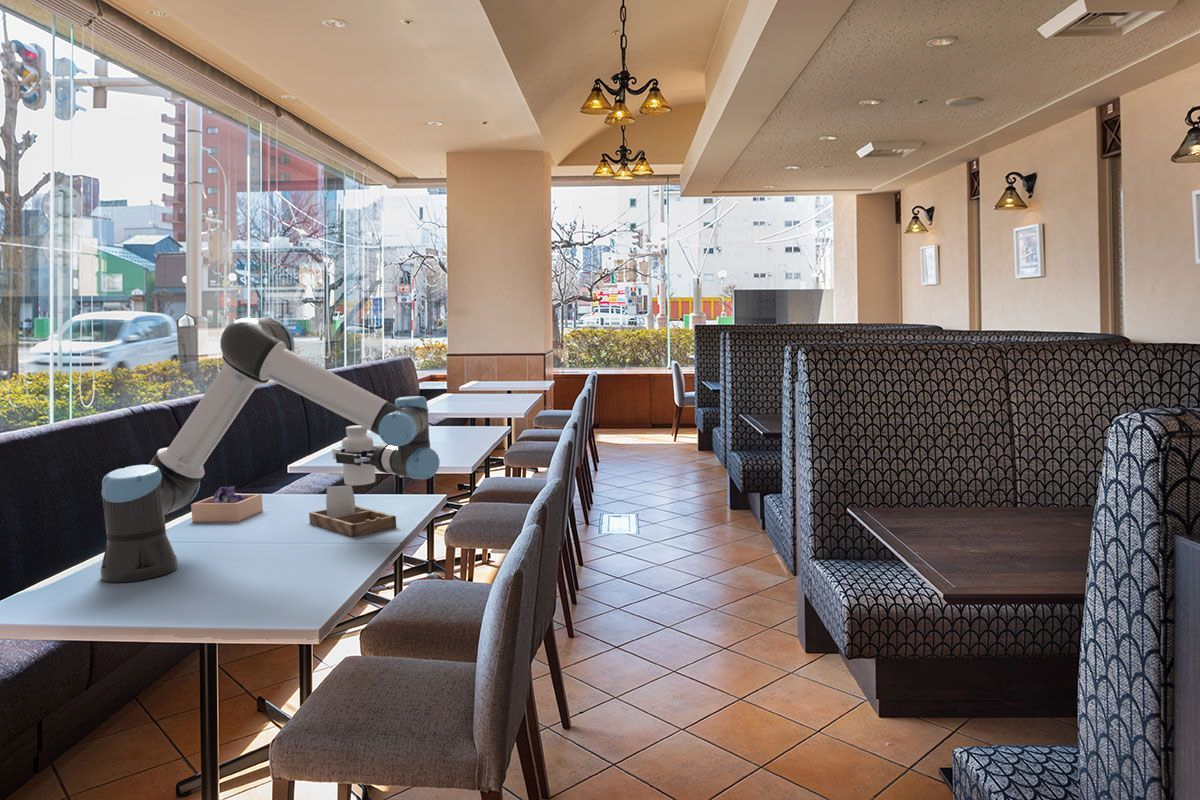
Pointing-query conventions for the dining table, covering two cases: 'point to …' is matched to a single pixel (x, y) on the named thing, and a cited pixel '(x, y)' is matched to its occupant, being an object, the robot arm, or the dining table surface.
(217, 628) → the dining table surface
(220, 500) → the flower
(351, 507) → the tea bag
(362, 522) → the slot rack
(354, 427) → the pill bottle
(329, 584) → the dining table surface
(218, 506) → the flower planter
